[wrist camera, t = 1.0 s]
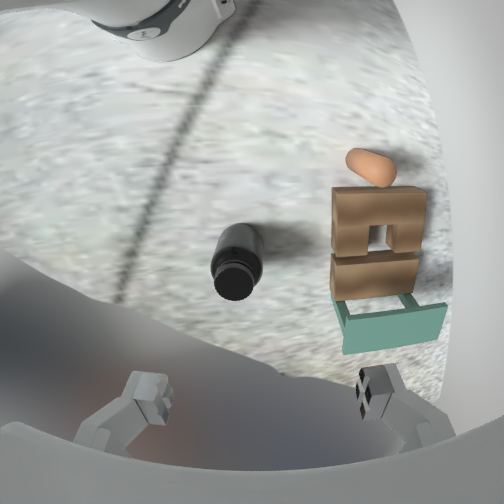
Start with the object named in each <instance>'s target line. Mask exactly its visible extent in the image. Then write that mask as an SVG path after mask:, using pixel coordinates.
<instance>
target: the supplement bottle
mask: <svg viewBox="0 0 504 504" xmlns="http://www.w3.org/2000/svg"><path fill="white" fill-rule="evenodd" d="M262 272H263V241H262V238H261V236H260V234H259V233H258V231H257V230H255V229H254V228H253V227H251V226H248V225H245V224H236V225H232V226H230V227H228V228H227V229H225V230H224V231H223V233H222V234H221V236H220V238H219V241H218V244H217V247H216V249H215V252H214V255H213V258H212V261H211V274H212V277H213V279H214V286H215V289H216V290H217V292H218V293H219V295H221V297H223V298H225V299H227V300H231V301H240V300H243V299H244V298H247V296H249V295H250V294H251V293H252V291H253V287H254V286H256V285H257V283H258V282H259V281H260V279H261V276H262Z"/></svg>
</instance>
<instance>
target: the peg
mask: <svg viewBox="0 0 504 504" xmlns="http://www.w3.org/2000/svg"><path fill="white" fill-rule="evenodd" d="M346 164H347V167H348V168H349V169H350V170H351V171H353V172H355V173H356V174H358V175H360V176H361V177H363V178H364V179H366V180H368V181H369V182H371V183H372V184H374V185H376V186H377V187H382V188H383V187H388V186H390V185H391V184H392V183H393V182H394V180H395V178H396V174H397V170H396V166H395V164H394V163H393V161H392V160H390V159H389V158H387V157H384V156H381V155H378V154H375V153H372V152H369V151H366V150H363V149H360V148H354V149H352V150H350V151H349V152H348V154H347V156H346Z"/></svg>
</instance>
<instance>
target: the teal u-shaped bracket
mask: <svg viewBox="0 0 504 504" xmlns="http://www.w3.org/2000/svg"><path fill="white" fill-rule="evenodd" d="M397 296H398V297H399V299H400V300H401V302H402V303H403V305H404V306H405V309H397V310H390V311H382V312H374V313H365V314H356V315H350V313H349V311H348V308H347V306H346V303H345V301H334V299H333V296H332V293H331V299H332V302H333V305H334V308H335V311H336V314H337V317H338V320H339V323H340V326H341V329H342V332H343V336H344V339H343V347H342V352H343V355H347V354H355V353H363V352H370V351H377V350H383V349H389V348H395V347H401V346H407V345H412V344H417V343H422V342H427V341H432V340H437V339H438V336H439V333H440V330H441V327H442V324H443V321H444V318H445V315H446V312H447V308H448V305H447V304H446V303H445V302H444V303H438V304H431V305H425V306H419V305H418V303H417V302H416V300H415V299H414V298H413V296H412V295H411V293H408V294H400V295H397Z"/></svg>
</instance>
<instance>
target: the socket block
mask: <svg viewBox="0 0 504 504" xmlns="http://www.w3.org/2000/svg"><path fill="white" fill-rule="evenodd" d="M426 199H427V193H426V192H424V191H423V190H421V189H419V188H417V187H412V186H388V187H383V188H382V187H332V238H331V246H332V248H333V250H334V252H335V254H331V271H330V290H331V293H332V296H333V299H334V301H344V300H355V299H365V298H374V297H383V296H392V295H400V294H408V293H413V289H414V284H415V279H416V274H417V268H418V263H419V259H418V257H417V256H416V255H415V254H414V253H413V252H415V251H420V250H421V243H422V236H423V228H424V220H425V210H426ZM371 225H387V232H386V244H387V245H388V246H389V247H390V248H391V249H392V250H384V251H369V252H367V251H368V238H369V226H371Z"/></svg>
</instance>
